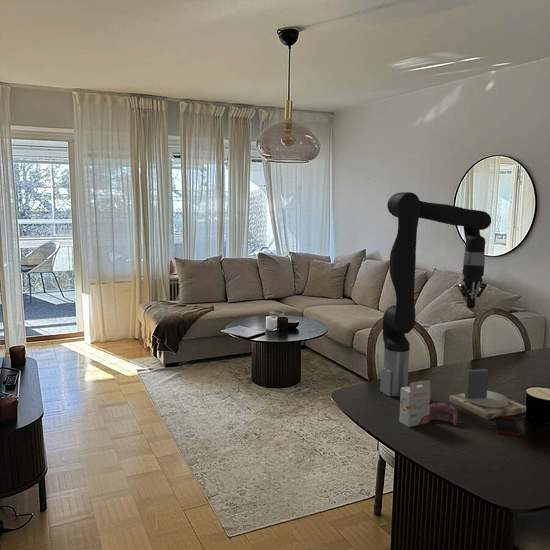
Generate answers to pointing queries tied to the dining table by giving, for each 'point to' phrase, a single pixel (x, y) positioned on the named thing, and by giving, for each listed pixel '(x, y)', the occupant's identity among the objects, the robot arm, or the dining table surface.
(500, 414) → the dial base
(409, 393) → the ink cartridge box
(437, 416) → the video game controller
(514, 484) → the dining table surface
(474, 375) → the grey panel on disc
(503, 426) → the smartphone
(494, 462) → the dining table surface
